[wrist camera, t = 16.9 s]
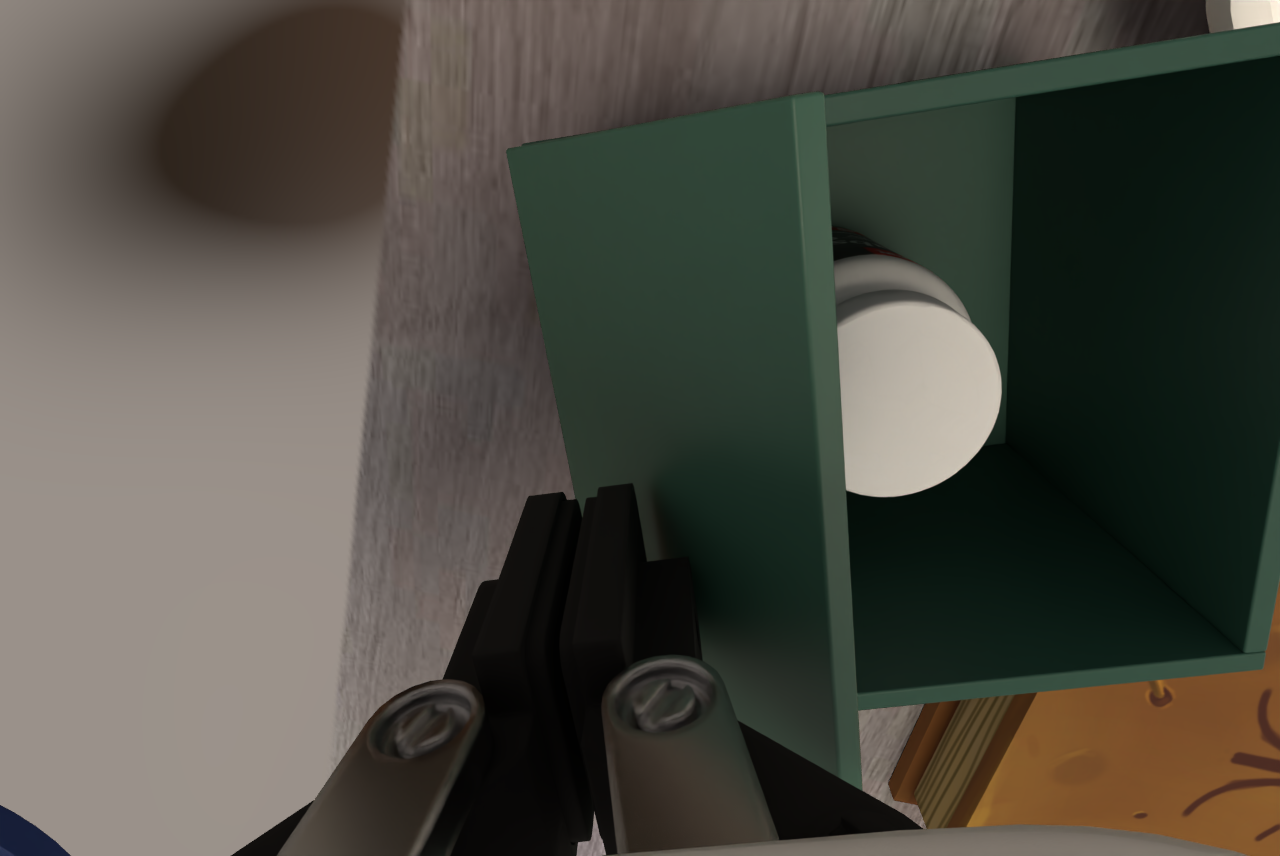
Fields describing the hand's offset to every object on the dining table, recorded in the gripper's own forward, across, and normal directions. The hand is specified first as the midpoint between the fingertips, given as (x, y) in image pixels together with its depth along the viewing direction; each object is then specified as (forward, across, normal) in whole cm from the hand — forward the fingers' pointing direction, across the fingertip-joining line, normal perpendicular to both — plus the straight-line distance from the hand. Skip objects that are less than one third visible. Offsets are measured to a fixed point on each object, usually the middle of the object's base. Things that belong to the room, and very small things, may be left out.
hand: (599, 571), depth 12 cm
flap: (0, -2, 0) cm, 2 cm away
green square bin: (+16, -6, 0) cm, 17 cm away
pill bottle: (+16, -6, 0) cm, 17 cm away
